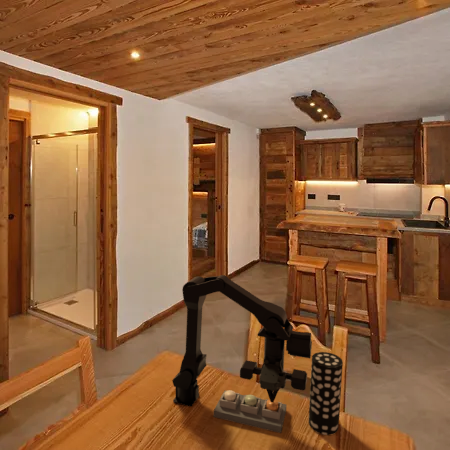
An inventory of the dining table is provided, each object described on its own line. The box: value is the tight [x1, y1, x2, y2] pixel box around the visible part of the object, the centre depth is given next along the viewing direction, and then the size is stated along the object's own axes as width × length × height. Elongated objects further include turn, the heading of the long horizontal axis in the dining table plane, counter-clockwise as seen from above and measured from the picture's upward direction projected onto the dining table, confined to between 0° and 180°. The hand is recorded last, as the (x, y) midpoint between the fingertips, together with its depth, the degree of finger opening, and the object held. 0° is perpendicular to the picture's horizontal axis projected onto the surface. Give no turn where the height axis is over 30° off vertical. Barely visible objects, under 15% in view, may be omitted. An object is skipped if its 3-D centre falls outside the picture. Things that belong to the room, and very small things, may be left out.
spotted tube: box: [308, 351, 344, 436], centre depth 98 cm, size 8×8×20 cm
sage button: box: [245, 394, 257, 407], centre depth 103 cm, size 3×3×2 cm
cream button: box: [224, 389, 237, 402], centre depth 105 cm, size 3×3×2 cm
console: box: [213, 390, 287, 434], centre depth 103 cm, size 20×10×4 cm, turn 72°
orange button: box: [266, 399, 279, 412], centre depth 101 cm, size 3×3×2 cm
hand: (272, 401), depth 101 cm, fingers closed
